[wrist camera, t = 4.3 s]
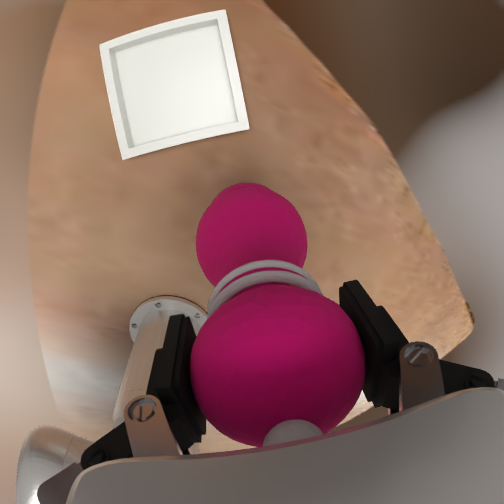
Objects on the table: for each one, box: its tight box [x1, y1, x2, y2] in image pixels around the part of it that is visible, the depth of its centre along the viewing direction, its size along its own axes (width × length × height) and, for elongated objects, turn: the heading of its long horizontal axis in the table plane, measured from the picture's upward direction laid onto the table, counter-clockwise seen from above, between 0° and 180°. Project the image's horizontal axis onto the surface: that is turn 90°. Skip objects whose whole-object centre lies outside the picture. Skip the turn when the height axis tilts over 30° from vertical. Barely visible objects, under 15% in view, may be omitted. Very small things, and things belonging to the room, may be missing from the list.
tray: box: [99, 10, 249, 160], centre depth 29 cm, size 14×14×3 cm
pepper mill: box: [190, 183, 365, 447], centre depth 16 cm, size 7×7×20 cm
